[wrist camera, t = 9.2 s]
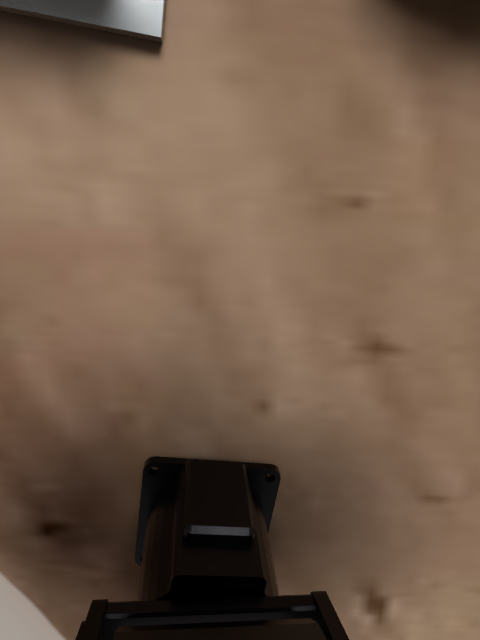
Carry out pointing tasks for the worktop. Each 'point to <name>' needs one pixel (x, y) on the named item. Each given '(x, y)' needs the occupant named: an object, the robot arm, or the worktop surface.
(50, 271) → the worktop surface
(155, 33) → the post
